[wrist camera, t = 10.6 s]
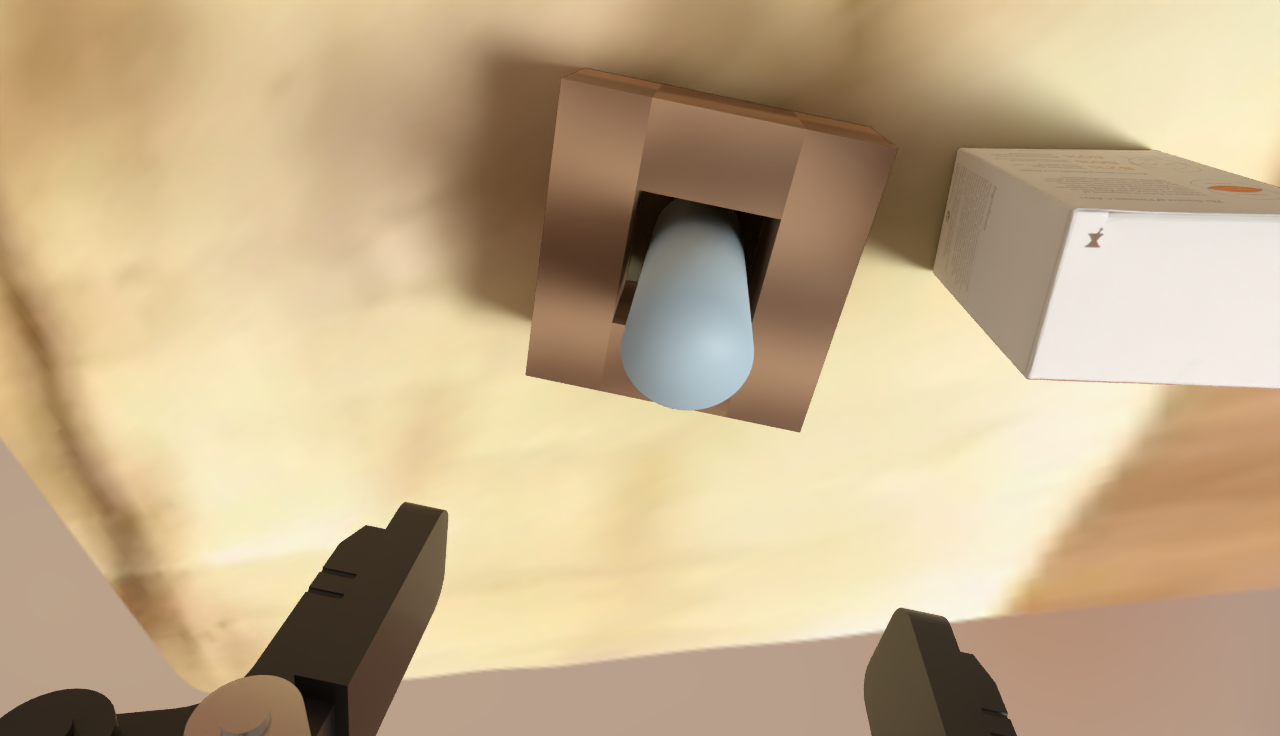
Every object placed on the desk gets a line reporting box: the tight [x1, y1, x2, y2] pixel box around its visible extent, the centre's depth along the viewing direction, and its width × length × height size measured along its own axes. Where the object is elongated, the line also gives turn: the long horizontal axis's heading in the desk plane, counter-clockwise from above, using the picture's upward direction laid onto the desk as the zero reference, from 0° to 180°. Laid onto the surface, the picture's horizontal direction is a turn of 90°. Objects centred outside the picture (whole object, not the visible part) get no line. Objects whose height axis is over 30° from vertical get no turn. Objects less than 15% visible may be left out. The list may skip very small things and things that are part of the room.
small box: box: [933, 147, 1280, 389], centre depth 25 cm, size 8×6×10 cm
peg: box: [621, 198, 754, 410], centre depth 26 cm, size 4×4×12 cm
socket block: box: [526, 68, 898, 432], centre depth 29 cm, size 12×12×5 cm
